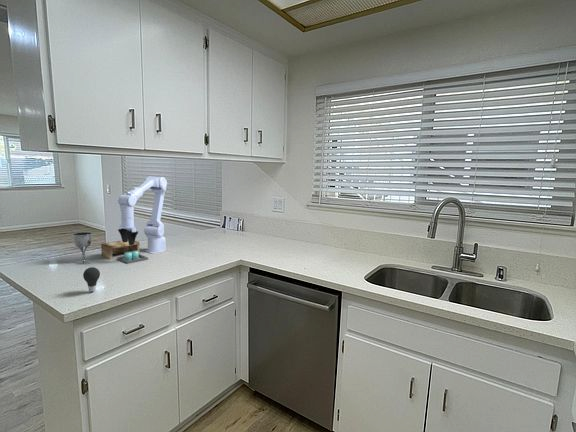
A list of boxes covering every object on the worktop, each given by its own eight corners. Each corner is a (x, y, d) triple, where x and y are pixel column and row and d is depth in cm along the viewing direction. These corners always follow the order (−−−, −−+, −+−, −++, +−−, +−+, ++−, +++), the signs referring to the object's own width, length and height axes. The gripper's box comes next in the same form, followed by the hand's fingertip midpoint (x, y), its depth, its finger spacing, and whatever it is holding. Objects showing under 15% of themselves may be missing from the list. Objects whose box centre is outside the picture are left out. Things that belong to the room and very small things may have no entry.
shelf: (130, 250, 185) (130, 239, 184) (139, 254, 179) (139, 242, 178) (101, 256, 172) (101, 243, 171) (110, 259, 167) (109, 246, 166)
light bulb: (86, 295, 121) (85, 270, 119) (81, 291, 124) (80, 267, 123) (102, 292, 125) (101, 267, 123) (97, 288, 128) (96, 264, 127)
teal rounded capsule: (129, 259, 169) (129, 251, 168) (133, 260, 167) (133, 252, 166) (123, 260, 166) (122, 252, 165) (126, 262, 164) (126, 253, 163)
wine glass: (84, 265, 156) (82, 235, 153) (70, 263, 157) (68, 234, 155) (96, 261, 163) (95, 232, 161) (83, 259, 165) (82, 231, 163)
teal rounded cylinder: (139, 258, 171) (139, 250, 171) (137, 260, 168) (137, 252, 167) (132, 258, 171) (132, 250, 170) (130, 260, 167) (130, 252, 167)
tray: (137, 257, 176) (137, 253, 176) (148, 261, 169) (148, 257, 169) (117, 261, 167) (117, 257, 167) (127, 265, 161) (127, 261, 160)
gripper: (113, 216, 164) (114, 242, 166) (125, 220, 155) (126, 247, 157) (127, 215, 170) (128, 240, 172) (140, 219, 160) (140, 245, 162)
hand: (128, 243), depth 165 cm, fingers open, 7 cm apart
